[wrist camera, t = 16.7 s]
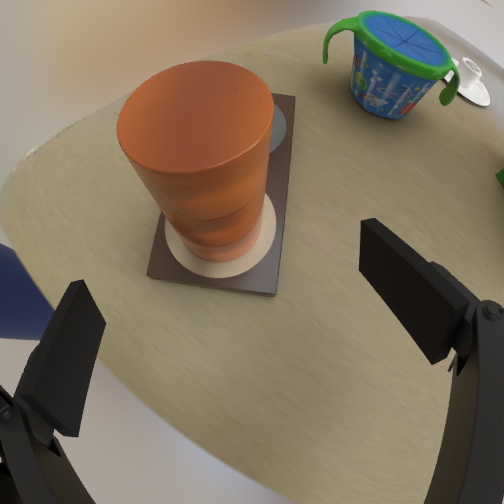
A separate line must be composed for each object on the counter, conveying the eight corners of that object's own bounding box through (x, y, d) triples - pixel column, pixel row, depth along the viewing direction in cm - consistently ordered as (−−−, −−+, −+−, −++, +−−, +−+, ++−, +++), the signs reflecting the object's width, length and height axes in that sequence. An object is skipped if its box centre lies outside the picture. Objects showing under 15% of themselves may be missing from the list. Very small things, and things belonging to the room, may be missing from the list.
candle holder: (429, 48, 34) (438, 32, 29) (482, 81, 32) (492, 67, 28) (433, 81, 31) (445, 62, 26) (492, 120, 29) (506, 105, 25)
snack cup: (306, 103, 28) (323, 27, 18) (323, 55, 30) (337, -7, 21) (434, 155, 27) (482, 100, 17) (430, 99, 29) (463, 48, 19)
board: (150, 278, 23) (145, 275, 21) (201, 95, 28) (199, 87, 27) (274, 296, 22) (276, 294, 21) (294, 103, 28) (295, 95, 26)
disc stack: (172, 256, 22) (93, 169, 9) (189, 182, 23) (147, 62, 11) (255, 268, 22) (264, 182, 9) (265, 191, 23) (280, 64, 11)
